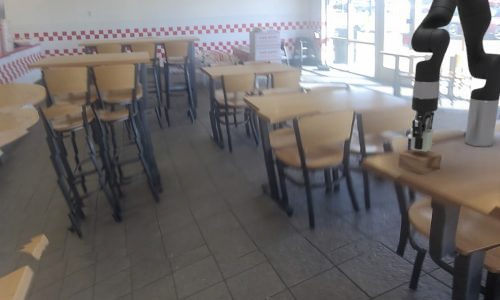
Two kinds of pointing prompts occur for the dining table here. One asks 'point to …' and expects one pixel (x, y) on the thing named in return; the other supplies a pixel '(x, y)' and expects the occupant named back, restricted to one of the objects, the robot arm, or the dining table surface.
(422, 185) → the dining table surface
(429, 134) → the sage cube
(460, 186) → the dining table surface
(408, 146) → the pill bottle
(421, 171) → the walnut block
